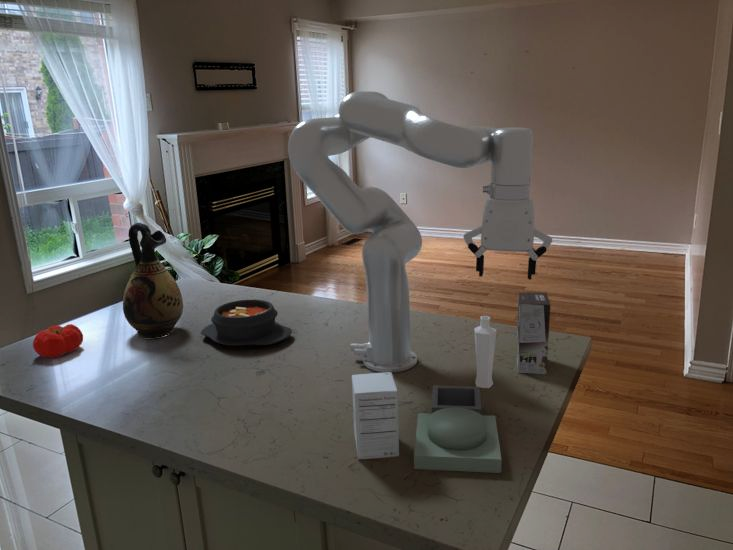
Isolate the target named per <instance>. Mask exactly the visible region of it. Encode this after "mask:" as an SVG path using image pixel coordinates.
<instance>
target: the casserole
mask: <svg viewBox="0 0 733 550" xmlns="http://www.w3.org/2000/svg"><path fill="white" fill-rule="evenodd" d="M278 314H279V313H278V310H276V309H275V307H274V305H273V303H272V302H270V301H267V300H262V299H241V300H234V301H229V302H227V303H223V304H222V305H219V306H218V307H217V308H215V310H214V313H213V315H212V317H211V323H210V324H208V325H206V326H205V327H204V328H203V329H202V330H201V331H200V334H201V335H202V336H205V337H208V339H210V340H211V341H212V342H215V343H217V344H221V345H224V346H236V347H243V346H252V345H253V346H254V345H255V346H267V345H269V346H270V345H273V344H276V343H278V342H281V341H283V340H285V339H287V338H289V337H290V336H291V334H292V333H293V330H292V328H290V327H289V326H288V327H287V326H286V325H282V324H280V323H279V322H277V321H276V318H277V317H278Z"/></svg>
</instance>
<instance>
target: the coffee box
mask: <svg viewBox="0 0 733 550" xmlns="http://www.w3.org/2000/svg"><path fill="white" fill-rule="evenodd" d="M517 298H518V301H517V323H516V324H517V325H516V327H517V328H516V352H515V353H516V355H515V357H516V358H515V360H516V368H517V373H518V374H536V375H546V374H547V371H548V369H547V368H548V354H549V353H548V351H549V339H550V338H549V336H550V334H549V333H550V322H551V321H550V320H551V319H550V316H551V306H552V305H551V301H550V299H549V296H548V294H547V292H540V291H537V292H535V291H533V292H532V291H531V292H521V291H519V292H518V297H517Z"/></svg>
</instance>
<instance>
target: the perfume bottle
mask: <svg viewBox="0 0 733 550" xmlns="http://www.w3.org/2000/svg"><path fill="white" fill-rule="evenodd" d="M479 318H480V325H478V326H476V327H474V329H473V331H474V348H475V363H476V364H475V368H476V369H475V370H476V378H475V380H474V383H475V387H479V388H480V389H481V388H482V389H490V388H491V387H492V386H493V385H494V381H493V368H494V359H495V349H496V340H497V339H496V338H497V329H496V328H494V327H491V317H490V316H487V315H481V316H479Z"/></svg>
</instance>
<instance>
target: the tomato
mask: <svg viewBox="0 0 733 550" xmlns="http://www.w3.org/2000/svg"><path fill="white" fill-rule="evenodd" d="M83 342H84V335H83V333H82V330H81V329H80V328H79V327H77V326H76V325H74V324H72V323H70V324H66V325H65V326H61V325H52V326H49V327H48V328H47V329H44V330H41V331H39V332H38V333H37V334H36V335H35V337H34V339H33V342H32V347H33V349H34V351H35V353H37V355H39V356H40V357H43V358H47V359H55V358H58V357H61V356H62V355H64V354H69V353H71V352H73V351H75V350H77V349H78V348H79V347H80V346H81V345H83Z"/></svg>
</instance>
